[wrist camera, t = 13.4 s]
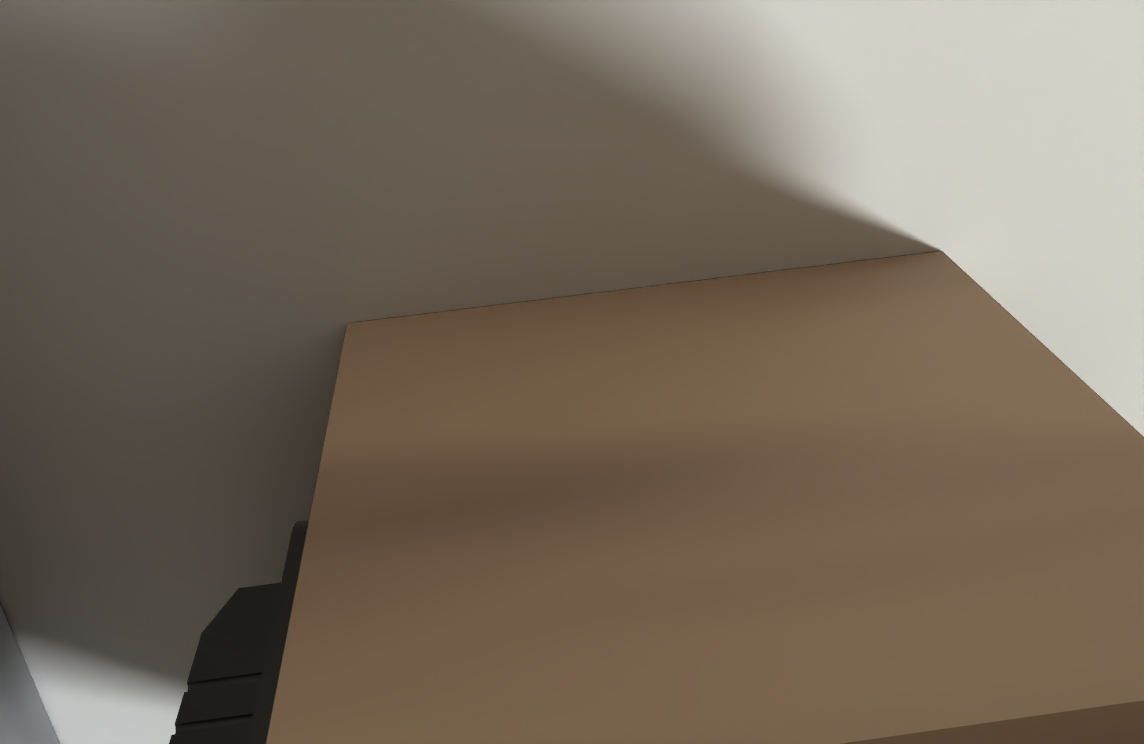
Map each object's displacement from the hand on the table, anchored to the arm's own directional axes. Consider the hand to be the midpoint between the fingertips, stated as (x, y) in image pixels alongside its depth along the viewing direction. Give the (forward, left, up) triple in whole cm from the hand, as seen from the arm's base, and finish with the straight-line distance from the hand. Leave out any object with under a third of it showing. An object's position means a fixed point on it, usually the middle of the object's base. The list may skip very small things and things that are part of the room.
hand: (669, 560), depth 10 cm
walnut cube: (0, 0, 0) cm, 0 cm away
